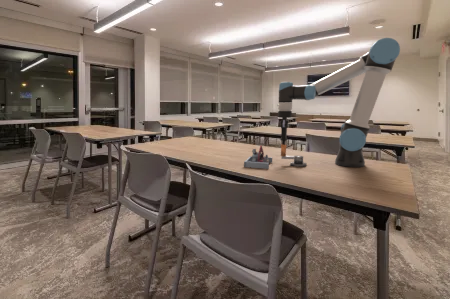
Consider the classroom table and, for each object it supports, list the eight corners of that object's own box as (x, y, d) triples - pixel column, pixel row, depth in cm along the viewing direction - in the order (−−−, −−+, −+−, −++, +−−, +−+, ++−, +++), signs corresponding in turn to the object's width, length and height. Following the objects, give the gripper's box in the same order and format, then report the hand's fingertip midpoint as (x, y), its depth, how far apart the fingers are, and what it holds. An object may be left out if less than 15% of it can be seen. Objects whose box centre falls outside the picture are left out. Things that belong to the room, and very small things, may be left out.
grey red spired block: (270, 163, 138) (257, 145, 140) (254, 173, 143) (242, 155, 144) (274, 159, 149) (262, 142, 150) (259, 168, 153) (248, 152, 154)
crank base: (306, 163, 147) (306, 161, 147) (306, 167, 138) (306, 165, 138) (290, 162, 150) (290, 160, 149) (289, 166, 141) (289, 164, 141)
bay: (272, 162, 151) (272, 157, 150) (268, 168, 136) (268, 163, 135) (250, 160, 155) (250, 156, 154) (244, 167, 140) (244, 161, 139)
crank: (302, 162, 146) (303, 144, 144) (303, 164, 141) (304, 145, 139) (280, 161, 148) (280, 143, 147) (280, 163, 144) (280, 145, 142)
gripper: (279, 110, 150) (278, 149, 154) (277, 110, 138) (275, 153, 142) (292, 110, 148) (290, 149, 152) (291, 110, 136) (289, 153, 140)
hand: (283, 151), depth 147 cm, fingers closed
